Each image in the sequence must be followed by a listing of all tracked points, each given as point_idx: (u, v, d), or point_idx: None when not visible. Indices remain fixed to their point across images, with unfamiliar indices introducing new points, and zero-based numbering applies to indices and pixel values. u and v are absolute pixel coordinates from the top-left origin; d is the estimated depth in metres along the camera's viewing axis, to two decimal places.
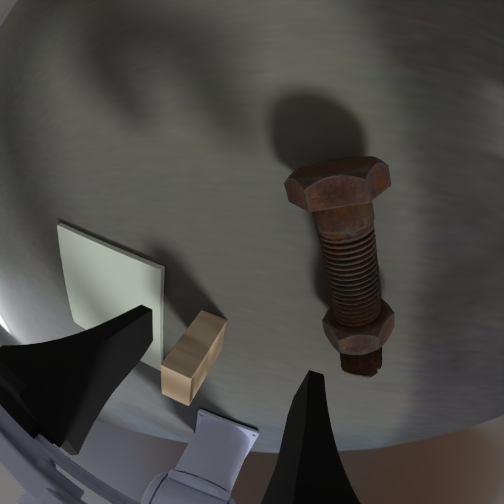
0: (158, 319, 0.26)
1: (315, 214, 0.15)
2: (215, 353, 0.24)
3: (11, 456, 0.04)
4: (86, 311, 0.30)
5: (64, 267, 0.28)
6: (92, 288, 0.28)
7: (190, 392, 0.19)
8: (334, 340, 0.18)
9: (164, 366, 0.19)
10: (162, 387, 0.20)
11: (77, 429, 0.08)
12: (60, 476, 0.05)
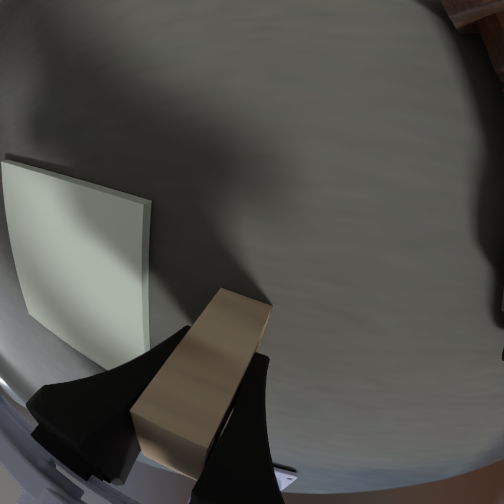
0: (139, 308, 0.14)
1: None
2: None
3: (11, 456, 0.04)
4: (39, 297, 0.18)
5: (10, 229, 0.16)
6: (42, 258, 0.16)
7: (204, 465, 0.07)
8: None
9: (139, 415, 0.07)
10: (142, 447, 0.08)
11: (126, 461, 0.08)
12: (60, 476, 0.05)
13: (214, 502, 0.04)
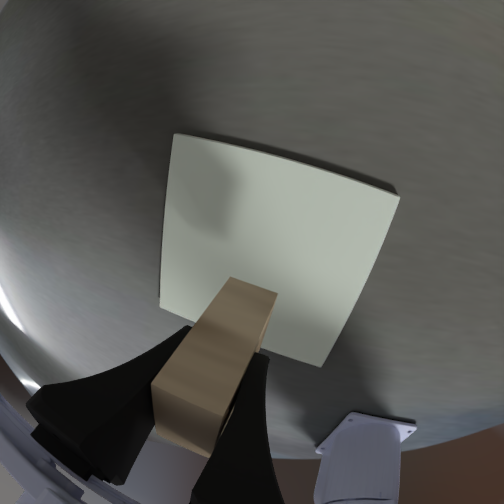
0: (362, 282, 0.17)
1: None
2: None
3: (11, 456, 0.04)
4: (197, 286, 0.21)
5: (169, 211, 0.19)
6: (230, 242, 0.19)
7: (217, 438, 0.09)
8: None
9: (159, 388, 0.08)
10: (157, 425, 0.09)
11: (126, 461, 0.08)
12: (60, 476, 0.05)
13: (214, 502, 0.04)
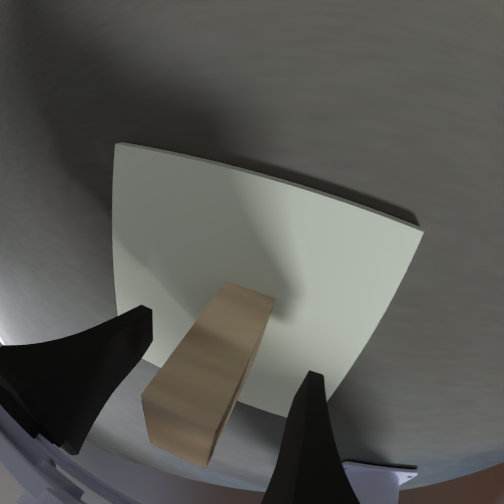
0: (363, 339, 0.13)
1: None
2: (251, 362, 0.13)
3: (11, 456, 0.04)
4: (158, 331, 0.17)
5: (117, 242, 0.15)
6: (191, 285, 0.14)
7: (211, 450, 0.08)
8: None
9: (150, 399, 0.07)
10: (150, 434, 0.09)
11: (77, 429, 0.08)
12: (60, 476, 0.05)
13: None
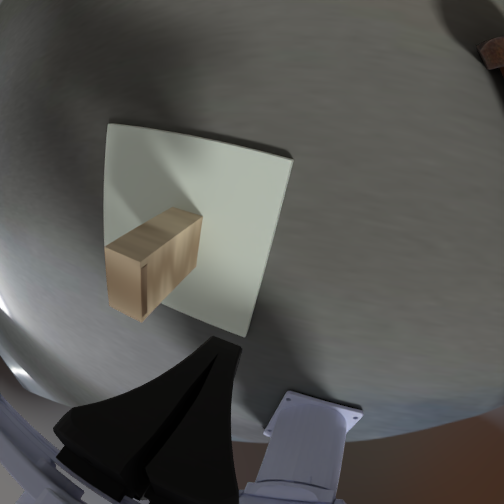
0: (266, 246, 0.19)
1: None
2: (186, 261, 0.19)
3: (11, 456, 0.04)
4: None
5: (107, 189, 0.21)
6: (152, 213, 0.21)
7: (141, 293, 0.14)
8: None
9: (109, 249, 0.14)
10: (109, 293, 0.15)
11: None
12: (60, 476, 0.05)
13: (165, 481, 0.05)
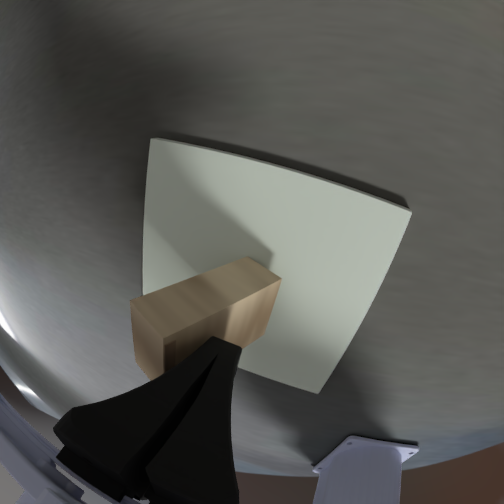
0: (365, 307, 0.15)
1: None
2: (248, 331, 0.15)
3: (11, 456, 0.04)
4: None
5: (148, 225, 0.17)
6: (216, 261, 0.17)
7: (165, 370, 0.11)
8: None
9: (134, 305, 0.11)
10: (135, 350, 0.12)
11: None
12: (60, 476, 0.05)
13: (165, 481, 0.05)
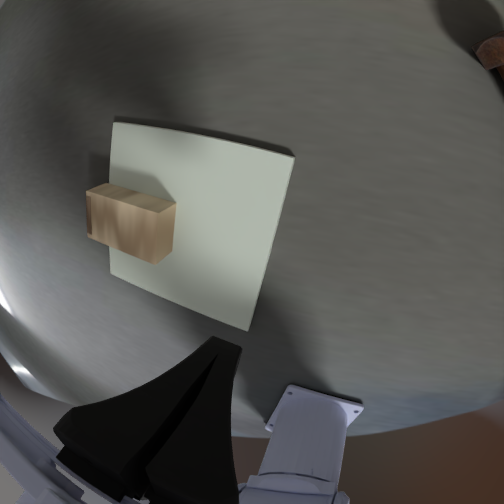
0: (269, 241, 0.20)
1: None
2: (136, 241, 0.20)
3: (11, 456, 0.04)
4: None
5: None
6: None
7: (87, 214, 0.20)
8: None
9: (104, 184, 0.21)
10: None
11: None
12: (60, 476, 0.05)
13: (165, 481, 0.05)
